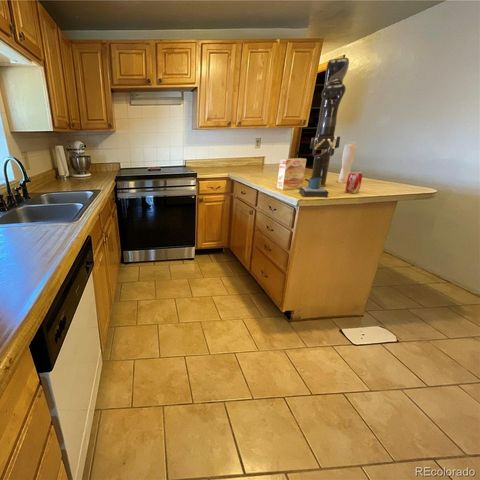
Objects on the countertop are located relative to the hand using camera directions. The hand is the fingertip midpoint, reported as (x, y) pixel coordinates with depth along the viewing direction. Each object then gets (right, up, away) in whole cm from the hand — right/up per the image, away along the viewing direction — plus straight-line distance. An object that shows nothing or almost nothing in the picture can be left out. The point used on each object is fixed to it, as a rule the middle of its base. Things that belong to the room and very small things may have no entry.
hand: (322, 156), depth 153 cm
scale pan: (-2, -19, +6) cm, 20 cm away
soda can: (+23, -20, +8) cm, 31 cm away
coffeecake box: (-6, -14, +28) cm, 31 cm away
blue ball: (-2, -18, +6) cm, 19 cm away
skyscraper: (+40, -7, +40) cm, 57 cm away
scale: (-2, -21, +7) cm, 22 cm away
